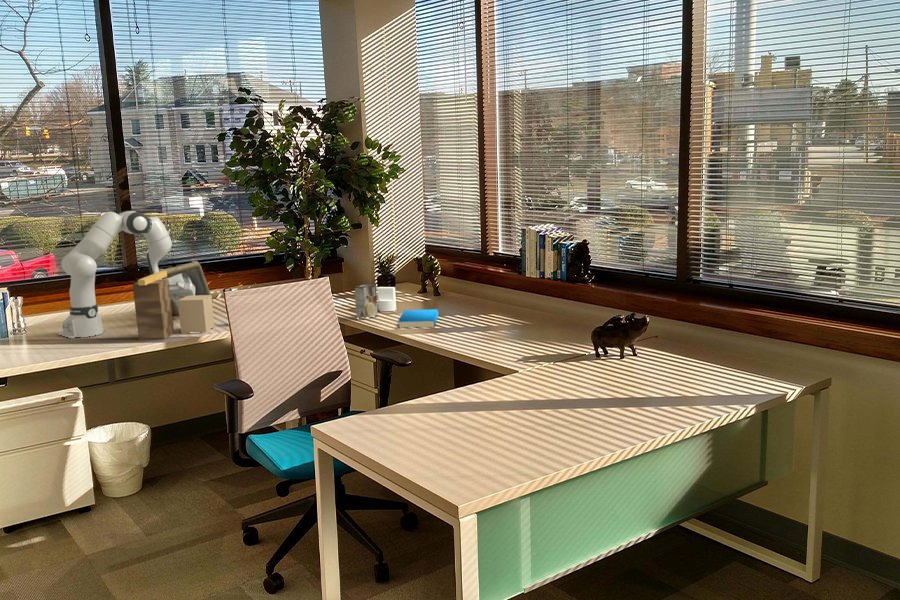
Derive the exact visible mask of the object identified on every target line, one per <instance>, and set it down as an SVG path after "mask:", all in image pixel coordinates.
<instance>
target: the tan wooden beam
mask: <svg viewBox="0 0 900 600" xmlns="http://www.w3.org/2000/svg"><path fill="white" fill-rule="evenodd" d="M166 276H167V271H160V272H157V273H155V274H152V275H151V274H150V275H148V276H144V277H142V278H139V279H138V280H137V282H138V285H147V284H149V283H152V282H154V281H157V280H159V279H161V278H164V277H166Z"/></svg>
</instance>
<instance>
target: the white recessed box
mask: <svg viewBox="0 0 900 600" xmlns="http://www.w3.org/2000/svg"><path fill="white" fill-rule="evenodd" d="M396 294H397V293H396V286H378V287H377V305H378V312H379V311H394V312H396V311H397V298H396V297H397V296H396ZM395 310H396V311H395Z"/></svg>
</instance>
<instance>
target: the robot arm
mask: <svg viewBox="0 0 900 600" xmlns="http://www.w3.org/2000/svg"><path fill="white" fill-rule="evenodd" d="M120 232H123V233H127V234H131V235H141V234H142V235H143V236H144V237H145V240H146V242H147V244H148V252H147V253H146V261H147V264H148V269H149V273H150V275H152V274H155V273H157V272H159V269H160V268H159V262H160V261H161V259H163V258H164V257H165V256H166V255H167V254H168V253H169V252H170V250H171V249H172V247H173V242H172V239H171V236H170V234H169V232H168V230H167V228H166V226H165V225H164V223H163V222H162V220H161V219H160V218H159V217H158V216H149V217H148V216H147V215H146V214H144V213H142V212H139V211H135V210H125V211H121V212H119V213H116V212H114V211H106V212H105V213H103V215H102V216H100V217H99V218H98V219H97V220H96V222H95V223H94V224H93V225H92V226H91V228H90V229H89V230H88V232H87V233H86V234H85V236H84V237H83V238H82V239H81V240H80V241H79V242H78V243H77V245H75V246H74V247H73V248H72V250H70V251H69V252H68V253H67V254H66V255H65V256H63V257H62V259H61V268H62V270H63V271H64V272H65V273H66V274H67V275H68V276H70V288H69V290H68V292H69V299H70V307H69V308H68V311H69V315H68V317H66V318H65V320H64V321H62V331H59V332H58V333H57V335H58V334H59V335H58V336H60V335H62V336H61V337H63V336H65V337H64V338H66V337H68V338H67V339H70V338H71V339H76V338H75V337H81V338H89V336H90V337H95V335H96V336H100V335H101V334H104V332H105V331H106V328H104V326H103V322H102V317H101V314H99V307H98V304H97V300H96V298H97V297H96V291H95V288H96V287H95V285H96V284H95V283H96V273H97V269H98V268H97V267H98V265H97V262H96V261H95V260H96V259H98V258H99V257H100V256H101V255H103V254H104V253H105V252H106V251H107V249H108V248H109V246H110V245H111V243H112V242H113V241H114V239H115V238H116V237H117V235H118V234H119V233H120ZM167 279H168V280H169V289H170V299H172V300H173V301H174V302H175V303H176V304H177V305H178V300H180V299H182V298H184V297H186V296H195V286H194V285H193V283H192V281H191V279H190V278H189V276H188V275H186V274H184V273H181V274H178V275H175V276H173V277H170V278H167ZM104 330H105V331H104ZM103 331H104V332H103Z"/></svg>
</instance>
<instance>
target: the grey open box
mask: <svg viewBox="0 0 900 600" xmlns="http://www.w3.org/2000/svg"><path fill="white" fill-rule="evenodd" d="M160 271H167V276H166V277H164V278H161V279H167V278H170V277H173V276H175V275H178V274H181V273H184V274H186V275H188V276H189V278H190V279H191V281H192V283H193V285H194V286H195V296H197V295H212V293H211V291H210V288H209V286H208V283H207V279H206V277H205V275H204V271H203V268H202V265H201V264H200V262H199V261H198V260H193V261H191V262H189V263H184V264H181V265H177V266H174V267H167V268H165V269H164V268H159V272H160ZM213 302H214V301H213V299H212V305H213ZM171 308H172V317H179V307H178V305H177V304H176V303H175V302H174V301H173V300H172V299H171Z"/></svg>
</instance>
